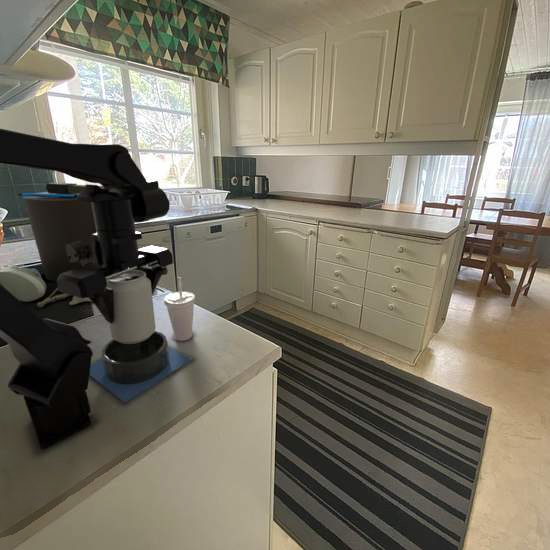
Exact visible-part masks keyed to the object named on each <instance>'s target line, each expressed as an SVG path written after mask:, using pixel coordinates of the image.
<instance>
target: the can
mask: <svg viewBox="0 0 550 550" xmlns="http://www.w3.org/2000/svg"><path fill="white" fill-rule="evenodd" d="M106 288H109V289H113V294H114V321H113V323H108V324H109V331H110V336H111V339H114V340H116V341H118V342H120V343H123V344H134V343H138V342H142V341H144V340H146V339H147V338H149V337H150V336H151V335H152V334H153V333H154V331H156V318H155V310H154V299H153V296H152V289H151V281H150V280H149V279H148V278H147V277H146V273H145V272H143V271H140V270H131V271H128V272H126V273H123V274H120V275H118V276H115V277H112V278H110V279H107V286H106Z"/></svg>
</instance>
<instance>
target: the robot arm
mask: <svg viewBox="0 0 550 550" xmlns="http://www.w3.org/2000/svg"><path fill="white" fill-rule="evenodd" d="M0 165H1V166H9V167H10V166H11V167H18V168H26V169H27V168H28V169H34V170H35V169H36V170H43V171H44V170H45V171H53V172H54V171H55V172H58V173H61V174H64V175H67V176H69V177H72V178H74V179H77V180H80V181H84V182H87V184H84V185H85V188H84V189H83V190H82V191H81V192H80V193H79V194H78V195H77V197H76V199H77V200H78V201H84V202H91V204H92V209H93V215H94V220H95V226H96V232H97V233H95V234H92V237H91V240H92V243H91V244H88V245H83V244H82V242H81V241H77V242H73V243H69V244H67V245H66V252H67V256H68V258H69V260H70V262H72V263H75V262H78V261H81V263H82V266H84V265H88V264H89V263H90V262H93V265H97V266H99V265H103V268H101V269H98V270H92V269H88V268H84V267H80V268H77V269H74V270H71V271H67V272H64V273H61V274H60V275H59V277H58V280H57V282H56V284H57V288H59V290H58V291H59V292H60V293H62V294H64V293H66V294H69V295H71V296H73V297H74V296H76V297H79V298H89V299H90V300H91V302H92V303H93V304H94V306H95V307H96V309H97V310H98V311H99V313H100V314H101V315H102V317H103V318H104V320H105V321H106V322H107V323H108V324H109V323H113V321H114V294H113V289H109V288H106V286H107V281H108V280H107V279H110V278H112V277H115V276H118V275H120V274H123V273H126V272H128V271H131V270H140V271H143V272H145V273H146V277H147V278H148V279H149V280H150V281H151V289H152V297H153V295H154V293H155V291H156V288H157V286H158V284H159V282H160V280H161V278H162V276H163V275H162V274H163V272H164V271H165V270H166V267H168V266H170V265H173V264H174V258H173V256H174V255H173V253H172V252H171V250H170V248H166V247H160V246H154V245H149V246H146V247H142V248H139V246H138V245H139V244H138V240H142V239H143V234H142V232H139V231H136V223H143V222H146V221H151V220H154V219H158V218H163V217H165V216H167V214H168V213H169V211H170V205H171V203H170V199H169V198H168V195H167V194H166V192H165V191H164V190H163V189H162V188H161V187H160V186H159V181H158V180H151V179H150V180H149V179H148V180H147V179H146V177H145V176H144V175H143V173H142V171H141V170H140V169H139V167H138V165H137V164H136V162H135V161H134V159H133V158H132V156H131V154H130V153H129V149H128V148H127V147H126V146H124V145H121V144H119V143H70V142H67V141H61V140H56V139H52V138H47V137H43V136H38V135H33V134H29V133H23V132H19V131H14V130H8V129H4V128H0ZM89 183H92V184H89ZM98 184H99V185H98ZM99 186H104V187H106V188H104V189H101V188H100V187H99ZM115 188H119V189H120V190H121V191H120V190H118V189H115ZM165 266H166V267H165ZM0 339H2V340H3V341H4V342H6V343H7V344H8V345H9V348H10V351H11V353H12V356H13V357H14V358H15V359H16V361H18V363H19V364H18V366H17V368H16V370H15V372H14V373H13V374H12V376H11V378H10V380H9V381H8V383H7V385H6V386H7V388H8V389H9V390H10V391H12V392H13V393H14V394H16V395H18V396H19V395H20V396H22V397H23V400H24V404H25V406H26V410H27V412H28V414H29V417H30V421H31V422H30V423H31V426H32V429H33V433H34V435H35V438H36V441H37V445H38V447H39V449H40V450H44V449H46V448H48V447H50V446H53V445H54V444H57V443H58V442H60V441H62V440H64V439H66V438H68V437H70V436H72V435H74V434H76V433H78V432H79V431H81V430H84V429H85V428H87V427H89V426H91V425H92V424H93V423H92V422H93V421H92V419H91V417H90V415H89V414H91V412H92V410H91V406H90V402H89V401H90V400H89V398H88V393H87V390H88V389H89V381H90V375H89V374H90V366H91V365H92V358H93V356H94V352H93V350H92V348H91V347H90V346H89V345H91V344H92V341H91V340H90V339H89V340H88V339H86V338H84V337H83V336H82V334H81V332H80V331H79V329H77V328H76V327H75V326H73V325H71V324H67V323H64V322H60V321H56V320H53V319H49V318H46V317H44V318H43V319H41V318H40V317H39V316H37V314H36V313H34V312H33V311H32V310H31V309H29V307H27V306H26V305H25V304H24V303H23V301H20V300H18V299H17V298H16V297H15V296H14V295H12V294H11V293H10V292H9V291H8V290H7V289H6V288H4V287H3V286H2V285H1V284H0Z"/></svg>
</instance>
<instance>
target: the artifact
mask: <svg viewBox="0 0 550 550" xmlns="http://www.w3.org/2000/svg"><path fill="white" fill-rule="evenodd" d="M85 302H92V301H91V300H90V299H89V298H79V297H76V296H73V297H72V300H71V301H69V305H70V306H74V305H77V304H81V303H85Z"/></svg>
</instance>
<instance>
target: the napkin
mask: <svg viewBox="0 0 550 550" xmlns="http://www.w3.org/2000/svg"><path fill="white" fill-rule="evenodd" d="M168 352H169V362H168V365H167V367H166V368H165V369H164V370H163V371H162V372H161V373H160V374H158V375H157V376H155V377H153V378H151V379H149V380H147V381H144V382H140V383H136V384H118V383H114V382H112V381H111V380H109V379H108V378H107V376H106V373H105V369H104V364H103V360H102V359H100V360H98V361H96V362H94V363H91V366H90V374H89V377H91V378H93V380H95V382H97V383H98V384H100V385H101V386H102V387H104V388H105V389H106V390H107V391H109V392H110V393H111V394H112V395H114V396H115V397H116V398H117V399H118V400H120V401H121V402H123V403H124V404H126V403H127V402H129V401H130V400H132V399H134V398H135V397H137V396H138V395H140V394H141V393H143V392H144V391H146V390H148V389H150V387H152V386H154V385H155V384H157V383H158V382H160V381H161V380H163V379H165V378H166V377H168V376H170V375H171V374H172V373H174V372H176V371H177V370H179V369H180V368H182V367H184V366H185V365H187V364H188V363H190V362H192V358H191V359H190V358H189V357H187V356H185V354H184V355H183V354H182V353H180V352H178V351H177V350H174V349H173V348H171V347H169V346H168Z"/></svg>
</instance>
